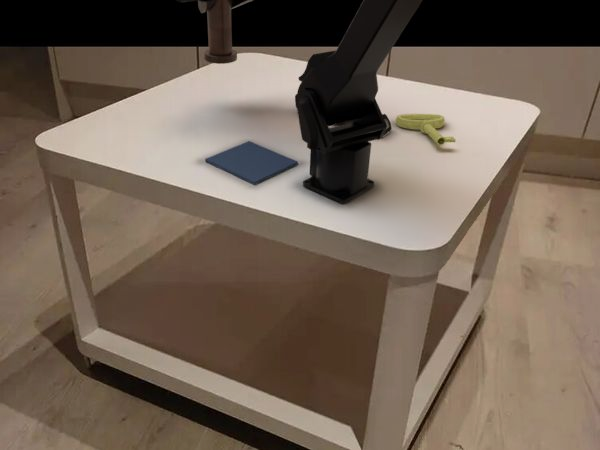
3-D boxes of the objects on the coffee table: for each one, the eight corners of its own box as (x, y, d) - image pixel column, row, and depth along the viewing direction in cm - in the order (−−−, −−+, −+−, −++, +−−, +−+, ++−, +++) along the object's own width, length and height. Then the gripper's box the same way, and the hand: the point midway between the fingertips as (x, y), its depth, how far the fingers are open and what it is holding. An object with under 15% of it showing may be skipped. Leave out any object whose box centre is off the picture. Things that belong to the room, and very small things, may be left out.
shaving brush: (242, 56, 93) (240, -44, 86) (228, 65, 89) (225, -39, 82) (213, 52, 94) (209, -47, 87) (198, 61, 91) (193, -42, 83)
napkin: (298, 164, 81) (298, 161, 80) (254, 184, 75) (254, 182, 75) (249, 143, 85) (249, 140, 85) (205, 161, 80) (205, 158, 80)
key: (438, 154, 85) (440, 139, 84) (389, 121, 94) (391, 108, 93) (480, 146, 87) (483, 132, 86) (428, 115, 97) (430, 102, 96)
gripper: (291, -123, 81) (249, -44, 95) (159, -123, 72) (133, -36, 85) (324, -50, 80) (277, 19, 93) (194, -41, 71) (162, 35, 84)
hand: (214, 8), depth 89 cm, fingers closed on shaving brush, 4 cm apart
